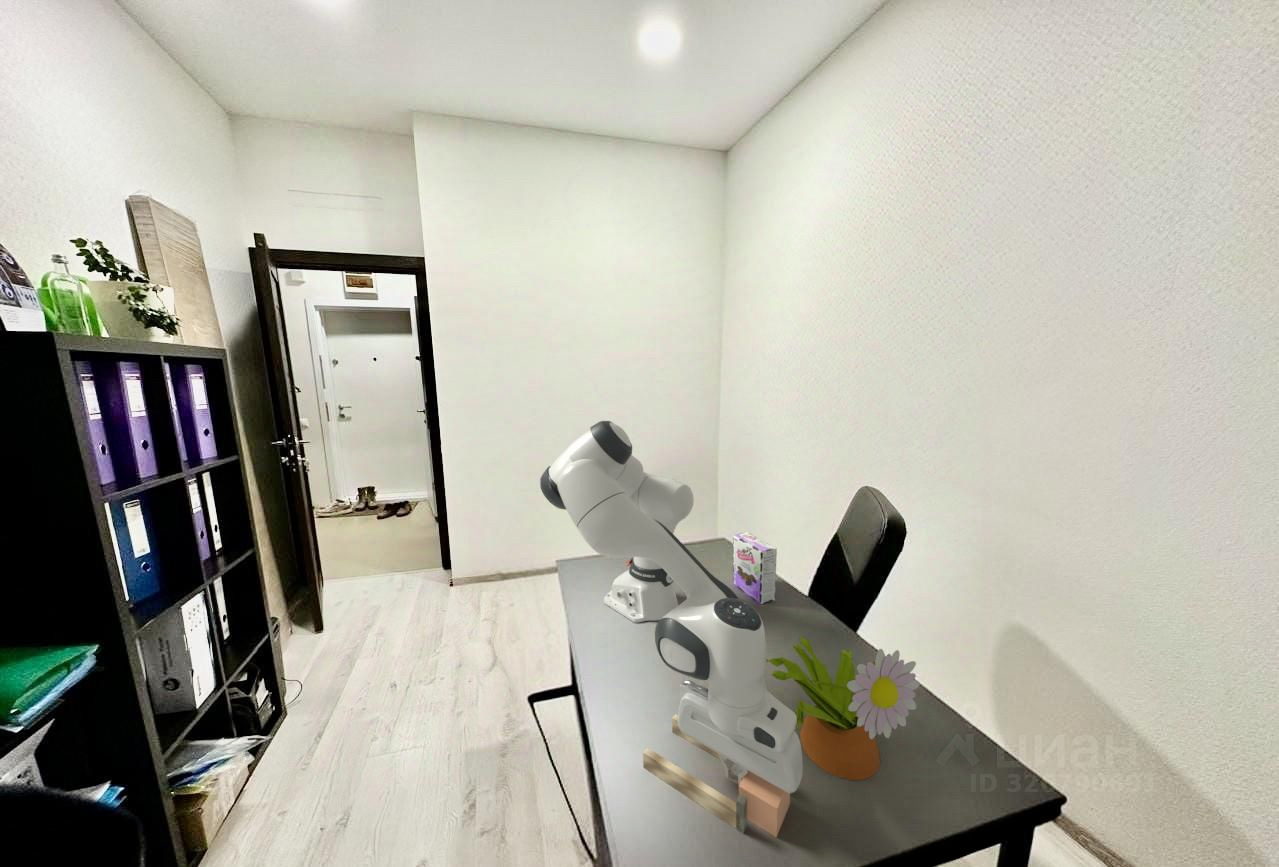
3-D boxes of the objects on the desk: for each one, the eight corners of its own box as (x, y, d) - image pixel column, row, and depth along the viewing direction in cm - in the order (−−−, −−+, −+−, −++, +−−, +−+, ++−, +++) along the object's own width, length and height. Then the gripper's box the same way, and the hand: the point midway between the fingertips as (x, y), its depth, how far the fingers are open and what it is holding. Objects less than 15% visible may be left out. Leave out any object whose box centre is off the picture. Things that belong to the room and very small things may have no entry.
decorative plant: (821, 827, 66) (828, 677, 62) (741, 708, 89) (742, 594, 85) (957, 776, 73) (971, 639, 69) (851, 679, 96) (856, 572, 92)
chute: (643, 767, 77) (642, 742, 76) (675, 727, 85) (675, 704, 84) (743, 833, 65) (743, 804, 65) (769, 780, 74) (770, 754, 73)
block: (738, 813, 68) (738, 786, 68) (753, 783, 73) (753, 757, 72) (776, 837, 65) (777, 808, 64) (789, 804, 70) (790, 777, 69)
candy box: (731, 583, 139) (732, 534, 136) (747, 579, 141) (747, 531, 139) (760, 605, 126) (760, 551, 124) (776, 600, 129) (777, 547, 126)
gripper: (669, 687, 73) (671, 759, 75) (793, 749, 61) (791, 834, 63) (689, 666, 78) (690, 734, 80) (807, 719, 66) (804, 799, 68)
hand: (735, 779), depth 71 cm, fingers closed
